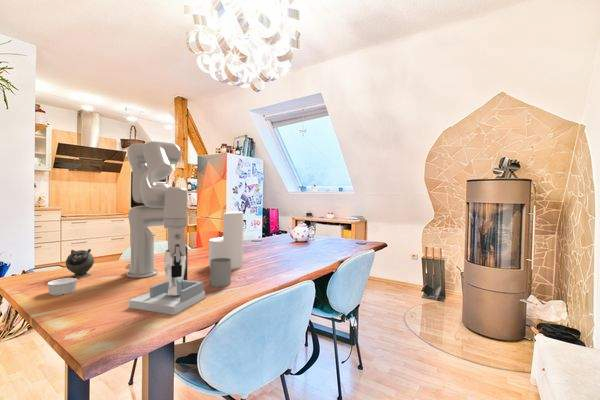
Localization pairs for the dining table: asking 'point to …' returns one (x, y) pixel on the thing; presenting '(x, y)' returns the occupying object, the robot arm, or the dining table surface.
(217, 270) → the cup
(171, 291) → the beer glass
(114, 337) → the dining table surface
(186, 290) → the dock
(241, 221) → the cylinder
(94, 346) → the dining table surface
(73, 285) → the ramekin
